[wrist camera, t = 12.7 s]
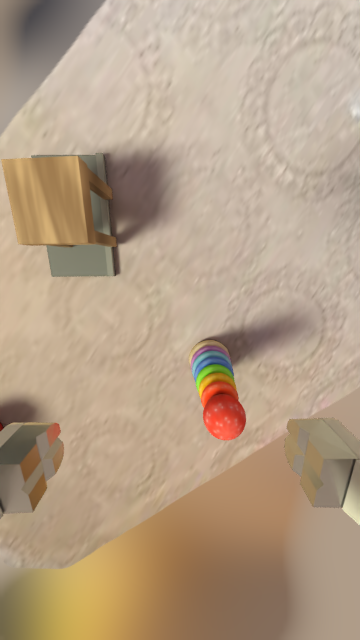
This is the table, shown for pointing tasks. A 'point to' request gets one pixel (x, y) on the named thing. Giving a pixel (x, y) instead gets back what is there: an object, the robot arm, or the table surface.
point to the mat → (94, 256)
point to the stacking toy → (217, 389)
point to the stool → (54, 201)
